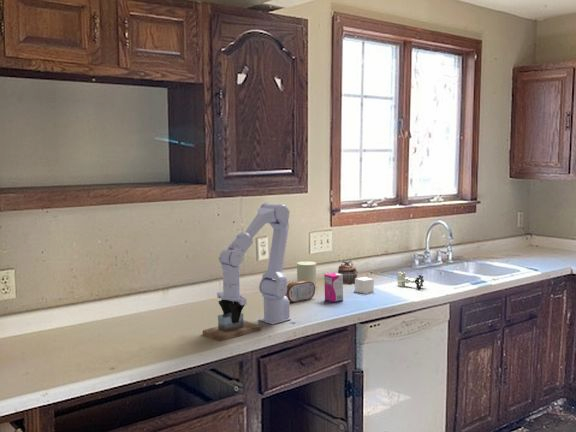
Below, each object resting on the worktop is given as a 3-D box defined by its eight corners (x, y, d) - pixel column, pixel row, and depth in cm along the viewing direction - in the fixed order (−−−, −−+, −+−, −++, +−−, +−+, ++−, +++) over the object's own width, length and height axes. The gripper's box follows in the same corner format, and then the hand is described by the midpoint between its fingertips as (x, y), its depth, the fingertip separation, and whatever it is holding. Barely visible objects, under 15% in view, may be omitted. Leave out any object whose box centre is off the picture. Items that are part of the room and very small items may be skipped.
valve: (394, 286, 274) (417, 290, 266) (394, 272, 273) (417, 276, 266) (400, 284, 279) (423, 287, 272) (401, 270, 278) (424, 273, 271)
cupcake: (338, 283, 280) (338, 263, 279) (337, 279, 290) (337, 259, 289) (358, 283, 280) (358, 263, 279) (356, 279, 290) (356, 259, 289)
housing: (218, 329, 204) (218, 315, 203) (236, 324, 209) (236, 311, 208) (225, 331, 201) (224, 317, 200) (243, 327, 206) (243, 313, 205)
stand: (243, 324, 215) (243, 320, 215) (260, 330, 208) (260, 325, 207) (202, 334, 203) (202, 330, 203) (219, 341, 196) (219, 336, 195)
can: (314, 284, 279) (314, 260, 277) (318, 289, 270) (318, 263, 268) (295, 285, 277) (295, 260, 276) (298, 289, 268) (298, 264, 267)
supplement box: (334, 298, 252) (334, 272, 251) (343, 301, 247) (343, 274, 246) (324, 300, 249) (324, 273, 248) (332, 303, 244) (332, 276, 243)
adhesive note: (373, 292, 264) (373, 279, 263) (363, 294, 260) (363, 280, 260) (364, 289, 269) (365, 276, 268) (354, 291, 265) (354, 278, 265)
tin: (312, 297, 255) (311, 278, 254) (316, 298, 252) (316, 279, 251) (284, 302, 246) (283, 283, 245) (288, 304, 243) (288, 284, 242)
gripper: (209, 281, 206) (210, 319, 208) (234, 288, 195) (235, 328, 197) (226, 278, 211) (226, 315, 212) (251, 285, 200) (251, 323, 202)
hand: (231, 321), depth 205 cm, fingers closed on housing, 4 cm apart
